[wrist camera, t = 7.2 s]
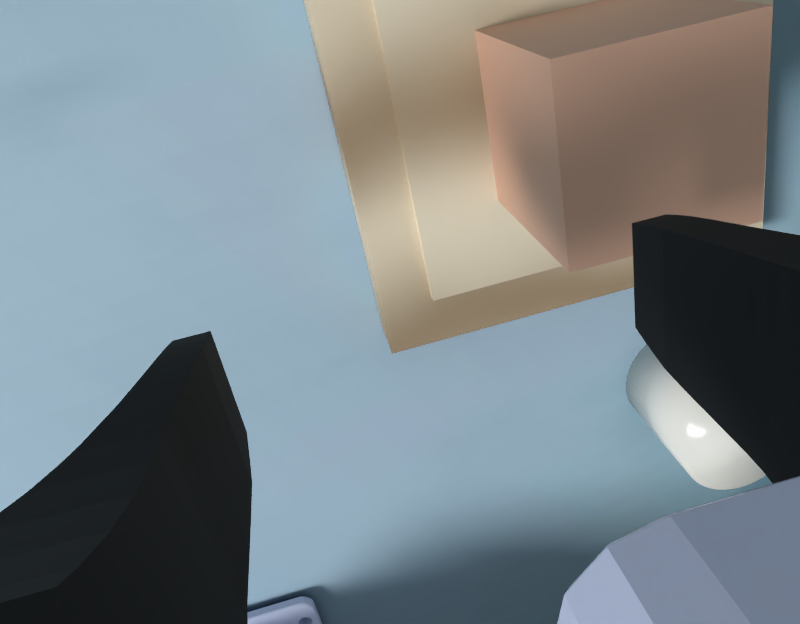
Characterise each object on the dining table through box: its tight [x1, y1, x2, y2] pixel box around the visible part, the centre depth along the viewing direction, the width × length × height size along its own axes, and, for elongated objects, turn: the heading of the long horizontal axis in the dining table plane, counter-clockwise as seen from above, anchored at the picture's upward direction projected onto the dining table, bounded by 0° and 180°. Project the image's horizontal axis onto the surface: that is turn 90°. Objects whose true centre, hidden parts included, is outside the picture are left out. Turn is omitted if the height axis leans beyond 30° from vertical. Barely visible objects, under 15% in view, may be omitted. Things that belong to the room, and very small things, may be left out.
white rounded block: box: [626, 345, 766, 490], centre depth 25 cm, size 4×4×4 cm
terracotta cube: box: [475, 0, 773, 273], centre depth 17 cm, size 4×4×5 cm
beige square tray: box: [304, 0, 773, 353], centre depth 20 cm, size 12×12×2 cm
